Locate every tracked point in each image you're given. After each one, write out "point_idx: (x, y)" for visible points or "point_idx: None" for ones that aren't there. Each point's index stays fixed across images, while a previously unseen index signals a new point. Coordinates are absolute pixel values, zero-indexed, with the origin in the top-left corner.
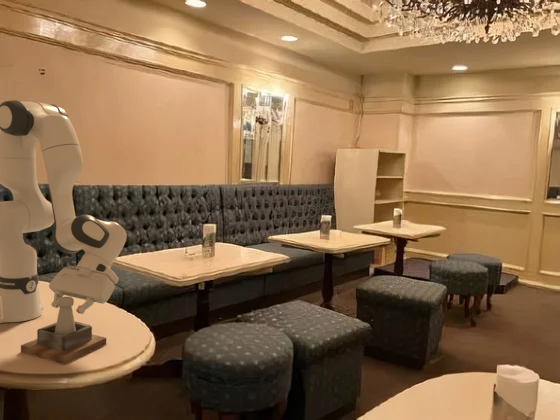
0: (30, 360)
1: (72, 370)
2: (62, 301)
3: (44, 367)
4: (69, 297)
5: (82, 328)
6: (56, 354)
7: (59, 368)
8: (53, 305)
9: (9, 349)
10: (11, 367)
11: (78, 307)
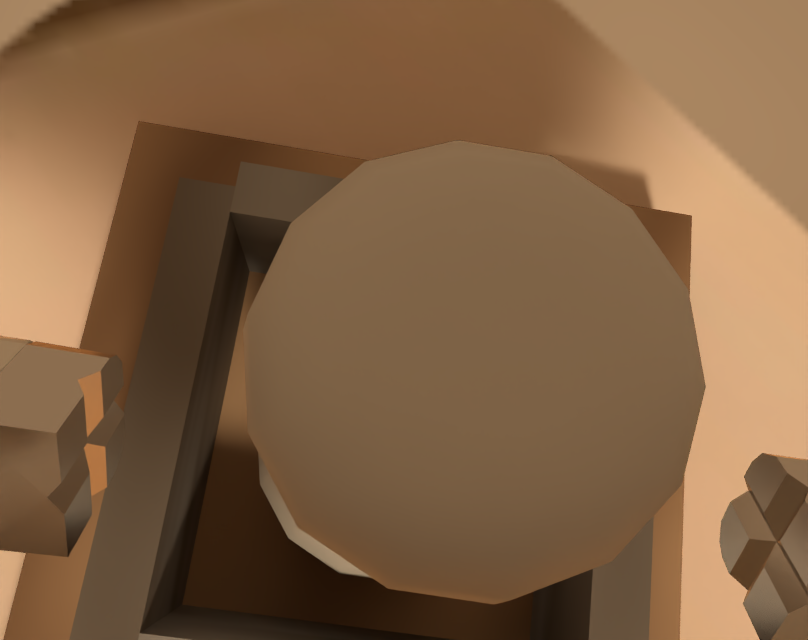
0: (468, 137)
1: (22, 89)
2: (427, 148)
3: (276, 69)
4: (405, 425)
5: (157, 522)
6: (249, 153)
7: (149, 88)
8: (805, 464)
9: (783, 254)
10: (503, 3)
11: (59, 392)
